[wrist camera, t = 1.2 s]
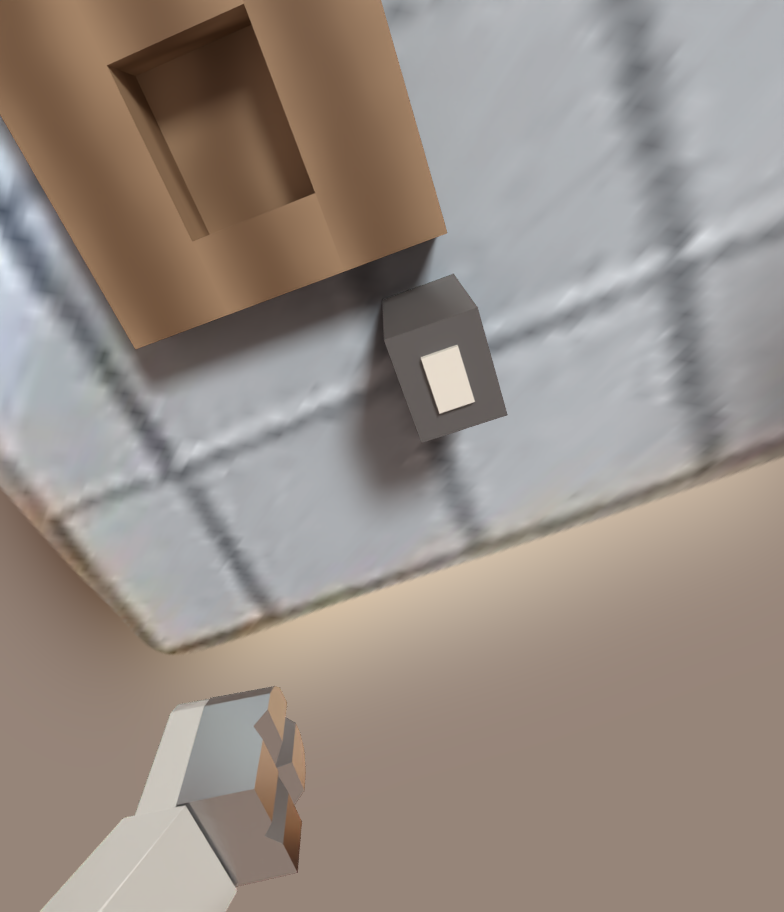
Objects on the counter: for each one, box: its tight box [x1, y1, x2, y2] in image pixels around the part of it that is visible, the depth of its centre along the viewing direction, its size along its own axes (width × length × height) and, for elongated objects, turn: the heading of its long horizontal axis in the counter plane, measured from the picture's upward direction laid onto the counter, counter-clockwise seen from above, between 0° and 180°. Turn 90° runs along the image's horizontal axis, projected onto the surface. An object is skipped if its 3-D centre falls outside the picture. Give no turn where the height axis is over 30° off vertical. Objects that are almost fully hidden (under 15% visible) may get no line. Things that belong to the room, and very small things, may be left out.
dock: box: [0, 0, 447, 349], centre depth 25 cm, size 16×14×4 cm
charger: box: [382, 274, 507, 443], centre depth 28 cm, size 4×5×8 cm
